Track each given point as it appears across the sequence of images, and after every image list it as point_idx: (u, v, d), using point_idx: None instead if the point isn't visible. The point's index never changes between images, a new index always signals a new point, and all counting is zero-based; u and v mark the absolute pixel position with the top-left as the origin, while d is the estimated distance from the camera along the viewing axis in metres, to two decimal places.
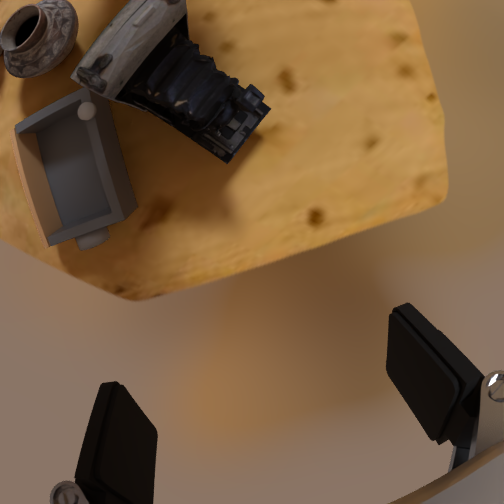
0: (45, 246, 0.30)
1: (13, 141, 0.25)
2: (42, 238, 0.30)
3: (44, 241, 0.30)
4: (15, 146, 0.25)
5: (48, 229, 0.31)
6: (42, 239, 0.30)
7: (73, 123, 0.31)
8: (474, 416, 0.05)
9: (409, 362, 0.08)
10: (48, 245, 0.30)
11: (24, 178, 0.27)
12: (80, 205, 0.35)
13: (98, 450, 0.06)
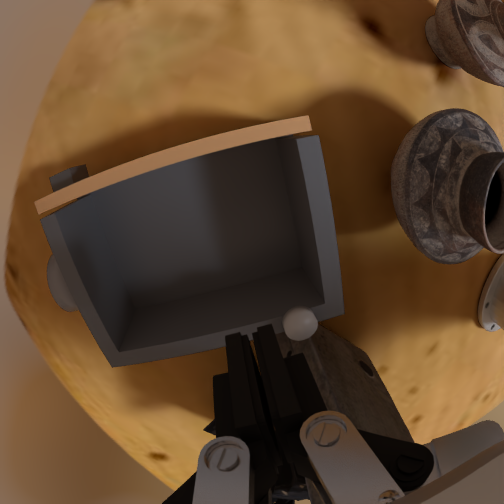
0: (38, 205, 0.14)
1: (280, 126, 0.14)
2: (51, 199, 0.14)
3: (46, 204, 0.14)
4: (265, 133, 0.14)
5: None
6: (49, 199, 0.14)
7: (277, 222, 0.21)
8: (293, 452, 0.06)
9: None
10: (40, 212, 0.14)
11: (182, 156, 0.14)
12: (125, 231, 0.20)
13: (252, 394, 0.07)
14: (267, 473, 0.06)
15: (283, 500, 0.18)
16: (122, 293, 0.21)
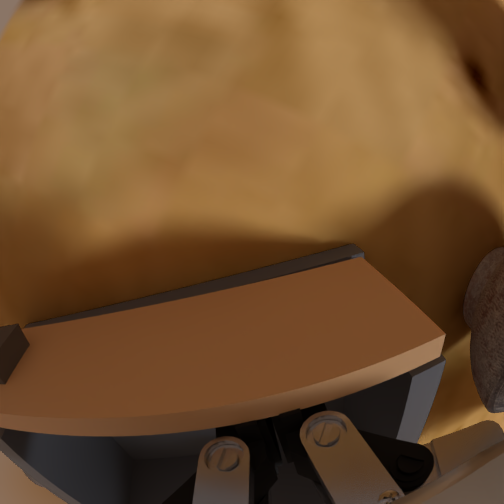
0: None
1: (395, 364, 0.06)
2: None
3: None
4: (365, 382, 0.06)
5: None
6: None
7: None
8: (292, 452, 0.06)
9: None
10: None
11: (190, 426, 0.06)
12: None
13: None
14: (267, 473, 0.06)
15: None
16: (115, 456, 0.13)
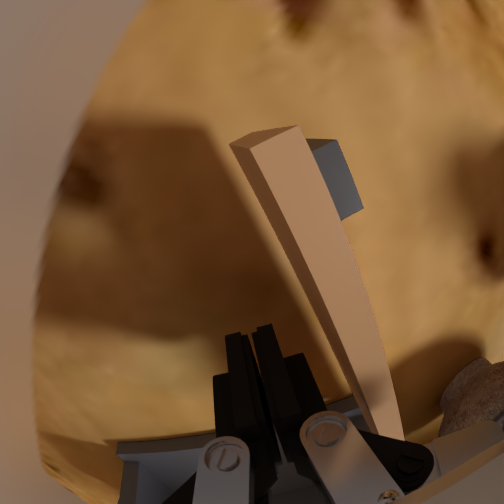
0: (289, 146, 0.04)
1: None
2: (316, 210, 0.05)
3: (297, 188, 0.04)
4: None
5: (284, 231, 0.06)
6: (317, 202, 0.04)
7: None
8: (292, 452, 0.06)
9: None
10: (258, 158, 0.04)
11: (385, 434, 0.08)
12: (183, 480, 0.16)
13: (252, 394, 0.07)
14: (267, 473, 0.06)
15: None
16: None
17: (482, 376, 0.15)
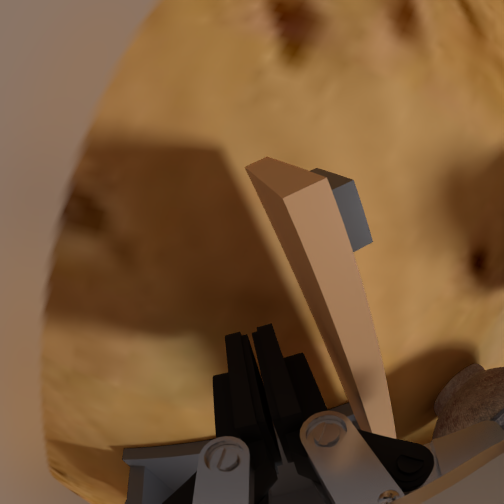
0: (317, 197, 0.05)
1: None
2: (336, 253, 0.05)
3: (322, 234, 0.05)
4: None
5: (301, 262, 0.07)
6: (337, 246, 0.05)
7: None
8: (293, 452, 0.06)
9: None
10: (289, 206, 0.05)
11: None
12: None
13: (252, 394, 0.07)
14: (267, 473, 0.06)
15: None
16: None
17: (474, 382, 0.16)
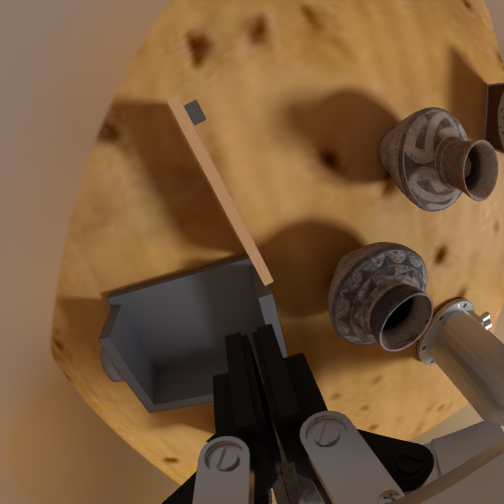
0: (175, 100, 0.18)
1: (262, 267, 0.23)
2: (182, 113, 0.18)
3: (177, 108, 0.18)
4: (255, 260, 0.23)
5: None
6: (182, 111, 0.18)
7: (250, 318, 0.32)
8: (293, 452, 0.06)
9: None
10: (169, 103, 0.18)
11: (229, 213, 0.21)
12: (148, 327, 0.30)
13: (252, 394, 0.07)
14: (267, 473, 0.06)
15: None
16: (149, 364, 0.31)
17: None
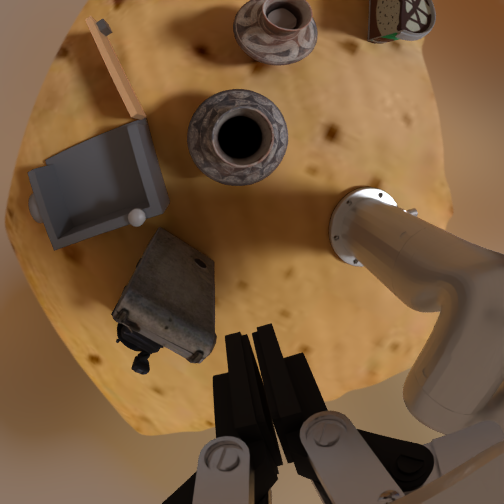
0: (89, 18, 0.23)
1: (129, 103, 0.28)
2: (91, 23, 0.23)
3: (89, 22, 0.23)
4: (124, 99, 0.28)
5: None
6: (91, 22, 0.23)
7: None
8: (293, 452, 0.06)
9: None
10: (86, 20, 0.23)
11: (110, 71, 0.26)
12: (69, 182, 0.35)
13: (252, 394, 0.07)
14: (267, 473, 0.06)
15: (141, 352, 0.33)
16: (66, 215, 0.36)
17: None
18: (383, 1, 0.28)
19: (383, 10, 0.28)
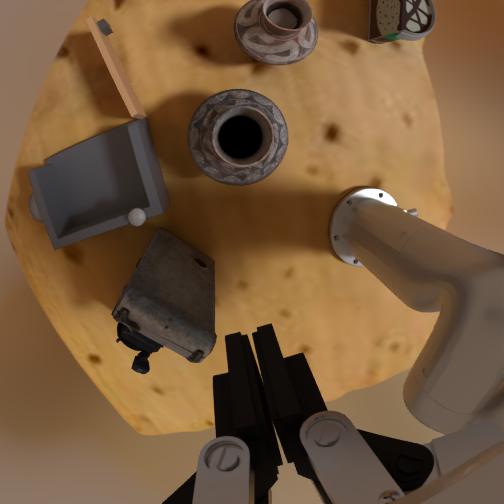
0: (89, 17, 0.23)
1: (129, 103, 0.28)
2: (92, 23, 0.23)
3: (90, 21, 0.23)
4: (125, 98, 0.28)
5: None
6: (92, 22, 0.23)
7: None
8: (293, 452, 0.06)
9: None
10: (86, 20, 0.23)
11: (111, 70, 0.26)
12: (69, 181, 0.35)
13: (252, 394, 0.07)
14: (267, 473, 0.06)
15: (141, 352, 0.33)
16: (66, 215, 0.36)
17: None
18: (383, 1, 0.28)
19: (383, 10, 0.28)
